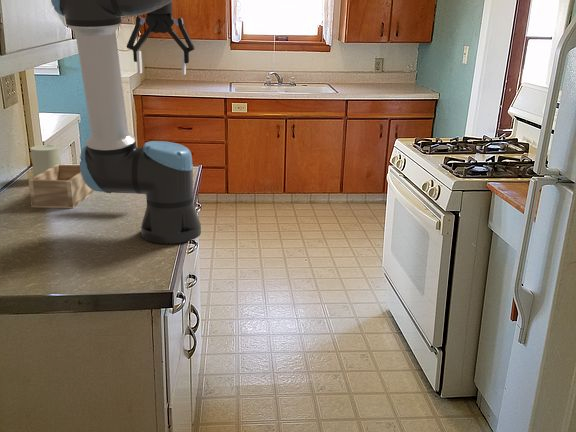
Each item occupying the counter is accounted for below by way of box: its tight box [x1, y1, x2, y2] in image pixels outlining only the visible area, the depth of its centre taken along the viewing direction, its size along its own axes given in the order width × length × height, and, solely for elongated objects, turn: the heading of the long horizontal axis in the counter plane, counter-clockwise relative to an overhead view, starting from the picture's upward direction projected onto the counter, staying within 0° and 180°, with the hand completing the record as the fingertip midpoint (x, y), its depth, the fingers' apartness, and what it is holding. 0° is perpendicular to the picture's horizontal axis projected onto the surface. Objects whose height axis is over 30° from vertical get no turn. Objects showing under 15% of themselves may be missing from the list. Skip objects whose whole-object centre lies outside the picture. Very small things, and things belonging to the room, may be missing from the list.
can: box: [30, 144, 62, 178], centre depth 185 cm, size 9×9×12 cm
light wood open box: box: [27, 164, 95, 209], centre depth 168 cm, size 20×12×8 cm, turn 0°
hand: (162, 73), depth 171 cm, fingers open, 13 cm apart
